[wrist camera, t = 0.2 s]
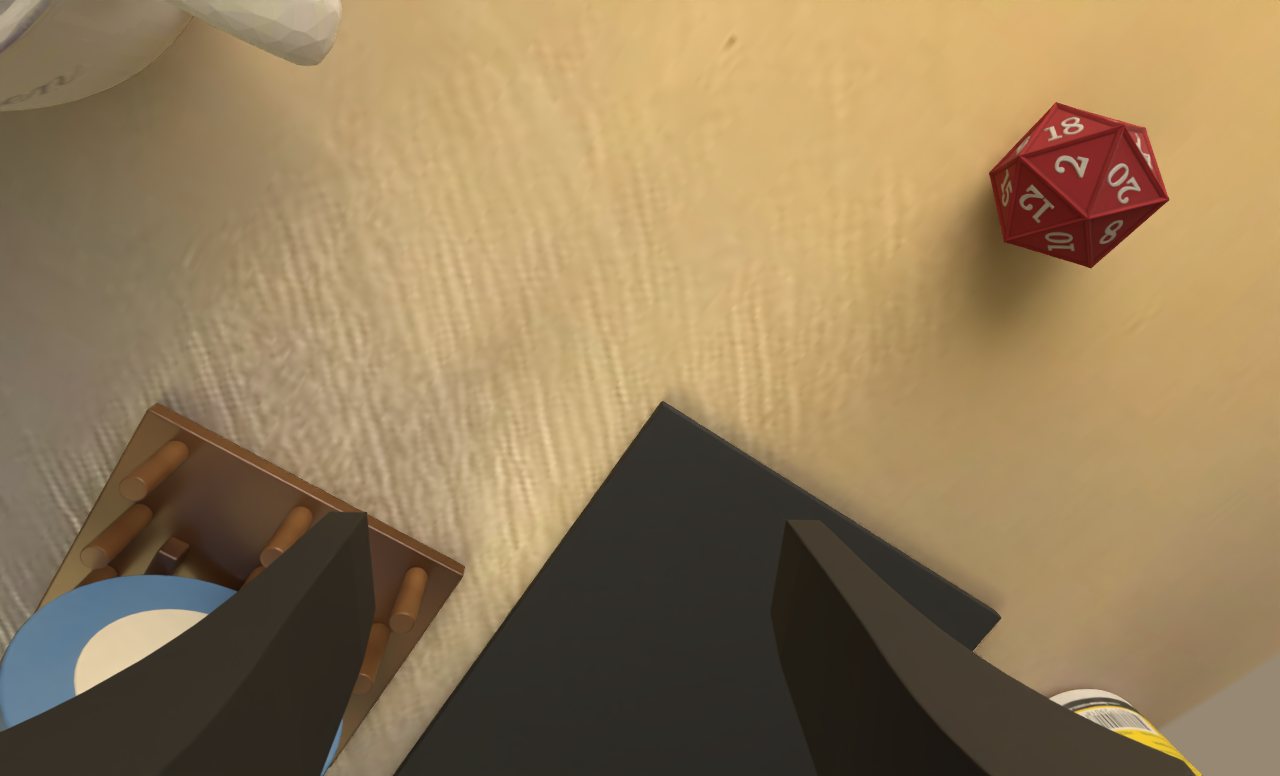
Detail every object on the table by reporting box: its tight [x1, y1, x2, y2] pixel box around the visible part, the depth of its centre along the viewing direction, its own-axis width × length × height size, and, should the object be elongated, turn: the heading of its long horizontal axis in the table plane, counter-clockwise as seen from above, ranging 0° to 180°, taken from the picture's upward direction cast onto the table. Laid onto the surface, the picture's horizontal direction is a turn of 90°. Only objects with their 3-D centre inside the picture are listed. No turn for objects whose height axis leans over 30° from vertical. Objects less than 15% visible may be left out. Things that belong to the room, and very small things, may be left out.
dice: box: [989, 102, 1169, 268], centre depth 22 cm, size 4×4×4 cm
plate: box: [0, 575, 343, 776], centre depth 21 cm, size 1×8×8 cm, turn 56°
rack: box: [34, 403, 465, 768], centre depth 24 cm, size 8×10×3 cm
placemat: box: [393, 401, 1001, 776], centre depth 28 cm, size 20×14×1 cm
